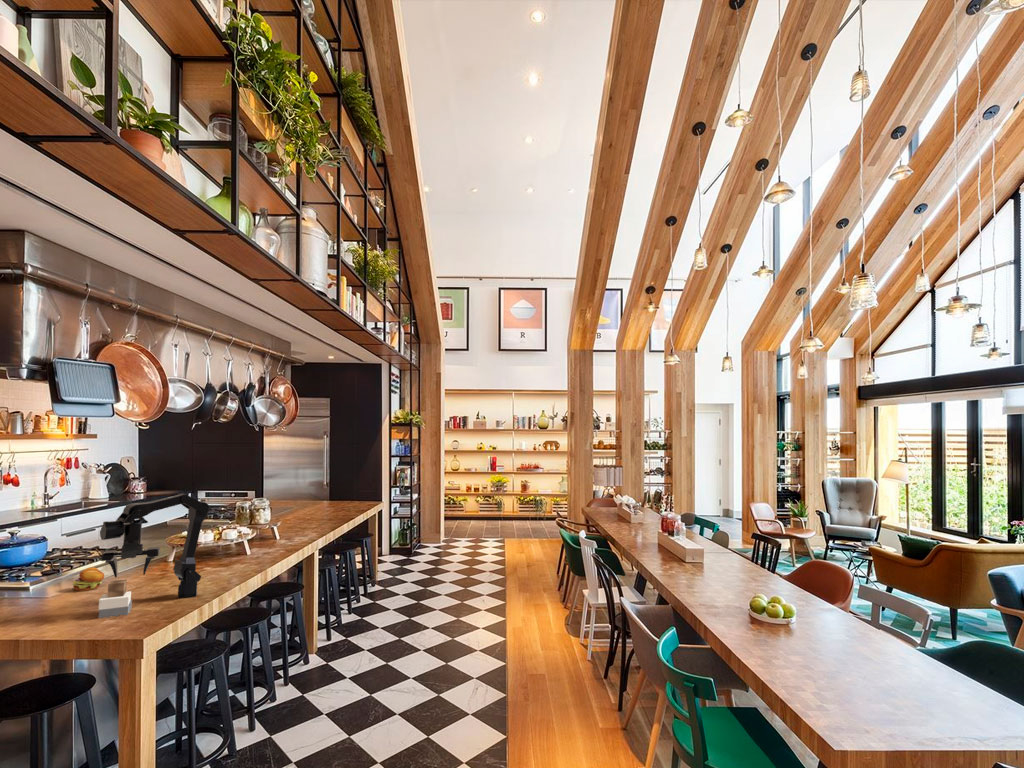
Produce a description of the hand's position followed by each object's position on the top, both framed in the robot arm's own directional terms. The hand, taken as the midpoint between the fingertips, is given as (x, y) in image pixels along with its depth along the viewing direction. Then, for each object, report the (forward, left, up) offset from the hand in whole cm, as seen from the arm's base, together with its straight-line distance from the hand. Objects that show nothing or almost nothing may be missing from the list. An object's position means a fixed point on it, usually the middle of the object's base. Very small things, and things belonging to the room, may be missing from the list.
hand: (130, 575), depth 217 cm
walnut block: (+3, +4, -6) cm, 8 cm away
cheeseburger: (+21, -41, -13) cm, 48 cm away
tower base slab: (+3, +5, -13) cm, 14 cm away
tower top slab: (+4, +5, -10) cm, 11 cm away
